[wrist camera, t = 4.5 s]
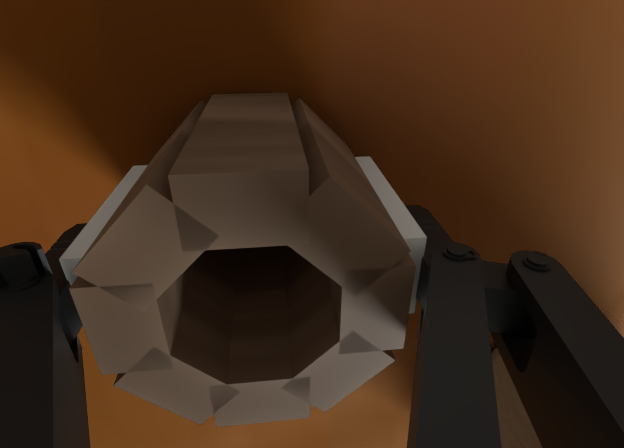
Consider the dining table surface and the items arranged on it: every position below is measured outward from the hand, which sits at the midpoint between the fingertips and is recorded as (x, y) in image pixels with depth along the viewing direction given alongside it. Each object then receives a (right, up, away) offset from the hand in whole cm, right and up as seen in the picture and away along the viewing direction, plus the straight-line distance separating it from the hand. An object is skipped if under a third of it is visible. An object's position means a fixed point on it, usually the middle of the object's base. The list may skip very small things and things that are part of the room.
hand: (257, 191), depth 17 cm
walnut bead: (0, 0, 0) cm, 0 cm away
